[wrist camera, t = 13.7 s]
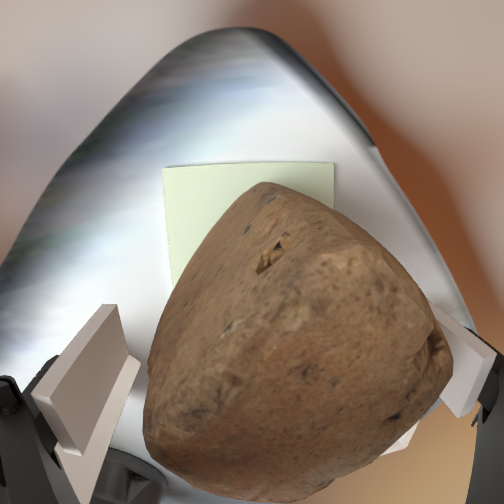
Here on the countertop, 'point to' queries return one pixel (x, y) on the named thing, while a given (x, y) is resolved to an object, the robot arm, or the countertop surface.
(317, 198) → the mat
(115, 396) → the milk
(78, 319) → the countertop surface
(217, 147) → the countertop surface
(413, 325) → the brown rough stone
